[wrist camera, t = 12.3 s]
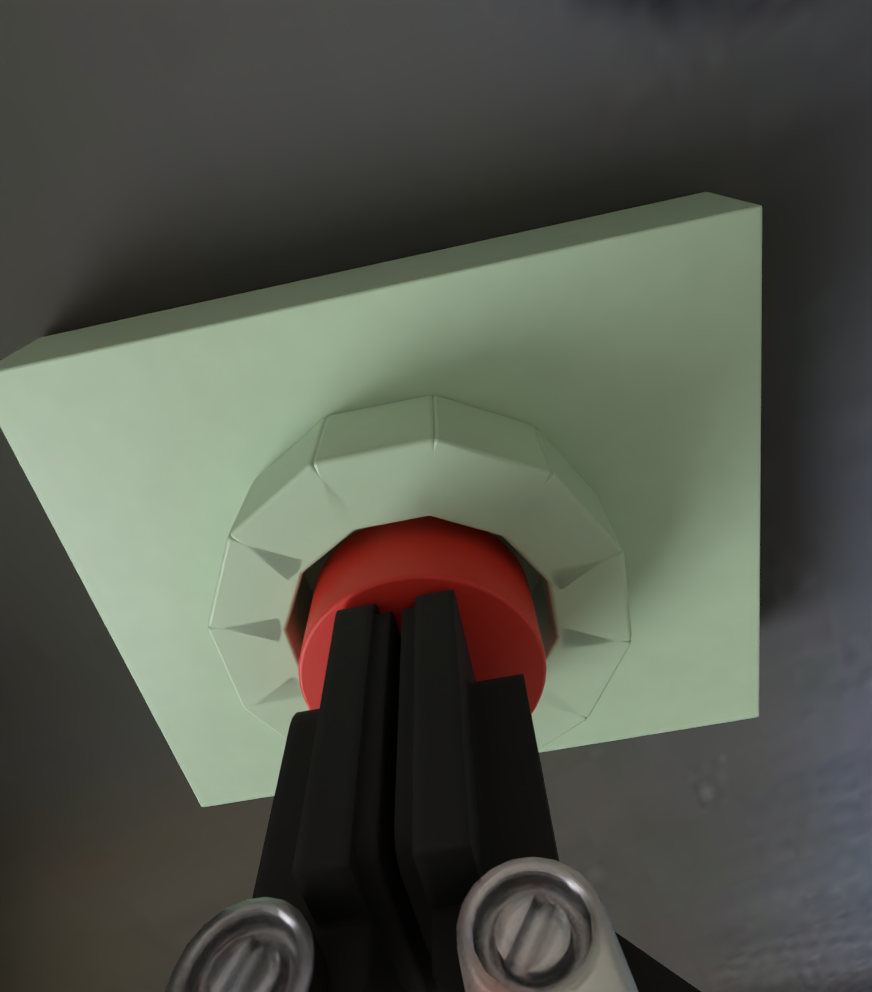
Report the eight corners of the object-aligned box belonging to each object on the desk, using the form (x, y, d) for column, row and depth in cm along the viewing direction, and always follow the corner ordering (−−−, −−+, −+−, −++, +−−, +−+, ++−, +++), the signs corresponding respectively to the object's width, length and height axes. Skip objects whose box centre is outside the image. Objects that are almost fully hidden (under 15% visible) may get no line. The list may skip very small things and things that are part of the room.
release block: (708, 190, 12) (827, 221, 9) (719, 647, 17) (801, 790, 13) (38, 337, 13) (-104, 419, 9) (225, 732, 18) (176, 886, 14)
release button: (513, 492, 11) (528, 553, 9) (544, 670, 13) (561, 746, 11) (285, 535, 11) (264, 602, 10) (345, 704, 13) (335, 784, 11)
